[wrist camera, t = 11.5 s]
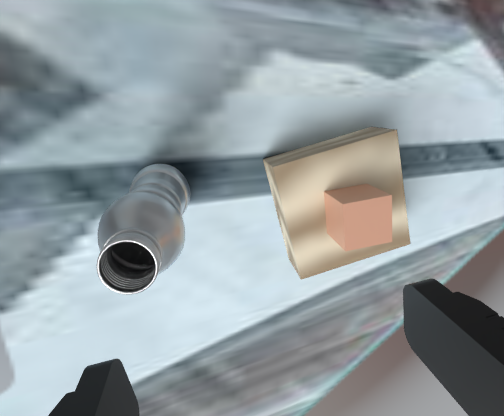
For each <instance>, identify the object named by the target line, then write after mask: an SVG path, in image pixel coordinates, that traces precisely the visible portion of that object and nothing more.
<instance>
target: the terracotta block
mask: <svg viewBox="0 0 504 416" xmlns="http://www.w3.org/2000/svg"><path fill="white" fill-rule="evenodd" d="M324 201H325V214H326V227H327V234H328V235H329V236H330V237H331V238H332V239H333V240H334V241H335V242H336V243H337V244H338V245H339V246H340V247H341V248H342V249H343V250H344V251H350V250H355V249H360V248H365V247H370V246H375V245H379V244H384V243H389V242H392V195H391V194H389V193H386V192H384V191H382V190H380V189H378V188H375V187H373V186H371V185H369V184H362V185H356V186H351V187H345V188H340V189H335V190H329V191H324Z"/></svg>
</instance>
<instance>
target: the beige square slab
mask: <svg viewBox="0 0 504 416" xmlns="http://www.w3.org/2000/svg"><path fill="white" fill-rule="evenodd" d="M263 161H264V165H265V169H266V173H267V177H268V180H269V184H270V188H271V192H272V196H273V200H274V203H275V207H276V211H277V215H278V219H279V223H280V227H281V230H282V234H283V238H284V242H285V246H286V250H287V253H288V257H289V260H290V262H291V263H292V265H293V267H294V268H295V270H296V272H297V273H298V275H299V277H300V279H304V278H307V277H310V276H314V275H317V274H320V273H323V272H326V271H329V270H332V269H335V268H338V267H341V266H344V265H347V264H350V263H353V262H356V261H360V260H363V259H366V258H369V257H372V256H375V255H378V254H381V253H384V252H387V251H390V250H393V249H396V248H399V247H402V246H406V245H409V244H410V237H409V229H408V220H407V212H406V203H405V195H404V186H403V178H402V169H401V161H400V152H399V143H398V135H397V130H395V129H386V128H377V127H369V128H365V129H362V130H359V131H355V132H352V133H349V134H345V135H342V136H339V137H335V138H332V139H329V140H325V141H322V142H319V143H315V144H312V145H309V146H305V147H302V148H299V149H295V150H292V151H289V152H285V153H282V154H279V155H275V156H272V157H269V158H265V159H263ZM362 184H369V185H371V186H373V187H375V188H378V189H380V190H382V191H384V192H386V193H389V194H391V195H392V242H389V243H384V244H379V245H375V246H370V247H365V248H360V249H355V250H350V251H344V250H343V249H342V248H341V247H340V246H339V245H338V244H337V243H336V242H335V241H334V240H333V239H332V238H331V237H330V236H329V235H328V234H327V227H326V214H325V201H324V191H329V190H335V189H340V188H345V187H351V186H356V185H362Z"/></svg>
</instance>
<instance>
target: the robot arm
mask: <svg viewBox="0 0 504 416" xmlns="http://www.w3.org/2000/svg"><path fill="white" fill-rule="evenodd" d="M403 306H404V331H405V335H406V338H407V340H408V343H409V345H410V346H411V348H412V350H413V351H414V352H415V353H416V355H417V356H418V357H419V358H420V359H421V360H422V362H423V363H424V364H425V365H426V366H427V367H428V369H429V370H430V371H431V372H432V373H433V374H434V376H435V377H436V378H437V379H438V380H439V381H440V383H441V384H442V385H443V386H444V387H445V388H446V390H447V391H448V392H449V393H450V394H451V395H452V397H453V398H454V399H455V400H456V401H457V402H458V404H459V405H460V406H461V407H462V408H463V409H464V411H465V412H466V413H467V414H468V415H469V416H504V318H503V317H502V316H501V317H500V316H499V315H498V313H496V312H495V311H494V310H492V309H491V308H489V307H488V306H487V305H485V304H484V303H482V302H481V301H479V300H477V299H474V298H472V297H470V296H467V295H465V294H462V293H460V292H455V293H452V292H451V291H450V290H449V289H447V288H446V287H445V286H443V285H442V284H441V283H439V282H438V281H437V280H435V279H427V280H423V281H420V282H416V283H412V284H408V285H405V287H404V289H403ZM48 416H139V406H138V402H137V398H136V396H135V394H134V391H133V389H132V386H131V384H130V381H129V379H128V376H127V374H126V372H125V369H124V367H123V364H122V362H121V361H120V360H119V359H113V360H109V361H105V362H101V363H97V364H94V365H90V366H87V367H86V368H85V369H84V371H83V374H82V376H81V378H80V381H79V383H78V385H77V388H76V390H75V391H74V392H70V393H67V394H66V395H65V396H64V397H63V398H62V399H61V401H60V402H59V403H58V404H57V405H56V407H55V408H54V409H53V410H52V412H51V413H50V414H49V415H48Z"/></svg>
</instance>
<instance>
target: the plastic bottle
mask: <svg viewBox="0 0 504 416" xmlns="http://www.w3.org/2000/svg"><path fill="white" fill-rule="evenodd" d="M189 201H190V188H189V184H188V182H187V180H186V178H185V177H184V175H183V174H182V173H181V172H180V171H179V170H178V169H176V168H175V167H173V166H170V165H167V164H153V165H150V166H147V167H145V168H143V169H142V170H140V171H139V172H138V173H137V174H136V176H135V177H134V179H133V181H132V184H131V187H130V192H129V193H128V194H126V195H124V196H122V197H121V198H119V199H117V200H116V201H115V202H113V203H112V204H111V205H110V206H109V207H108V208H107V209H106V211H105V212H104V214H103V215H102V217H101V220H100V222H99V227H98V245H99V248H100V254H99V257H98V260H97V272H98V276H99V278H100V279H101V281H102V282H103V284H104V285H105V286H106V287H108V288H109V289H110V290H112V291H114V292H117V293H120V294H136V293H139V292H142V291H144V290H145V289H147V288H148V287H149V286H150V285H151V284H152V283H153V282H154V280H155V279H156V277H157V274H159V273H161V272H163V271H164V270H166V269H167V268H168V267H169V266H171V265H172V264H173V263H174V262H175V261H176V259H177V258H178V256H179V255H180V253H181V251H182V249H183V246H184V241H185V227H184V222H183V218H182V214H183V213H184V212H185V210H186V208H187V206H188V204H189Z"/></svg>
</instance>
